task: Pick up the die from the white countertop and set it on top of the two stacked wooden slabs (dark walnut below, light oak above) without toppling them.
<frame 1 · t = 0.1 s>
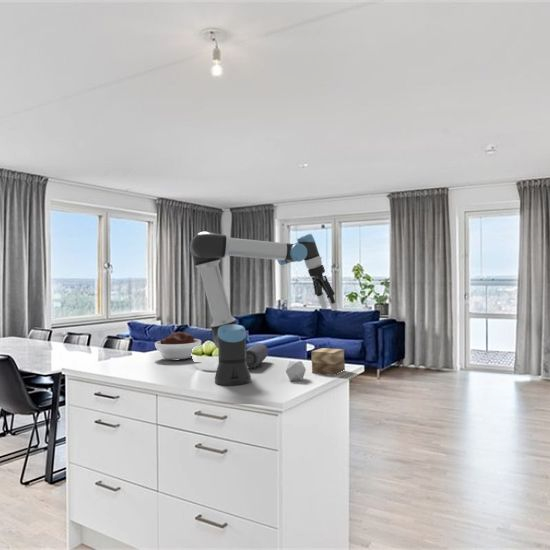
hand: (329, 309, 229), 28 cm above the countertop, tool tilted 20°, fingers open, 13 cm apart
oak slab: (327, 361, 221), point 5 cm above the countertop, touching walnut slab
white filled bowl: (178, 359, 266), on the countertop
walnut slab: (328, 372, 221), on the countertop, touching oak slab
bluetooth speaker: (255, 366, 240), on the countertop
die: (296, 380, 206), on the countertop
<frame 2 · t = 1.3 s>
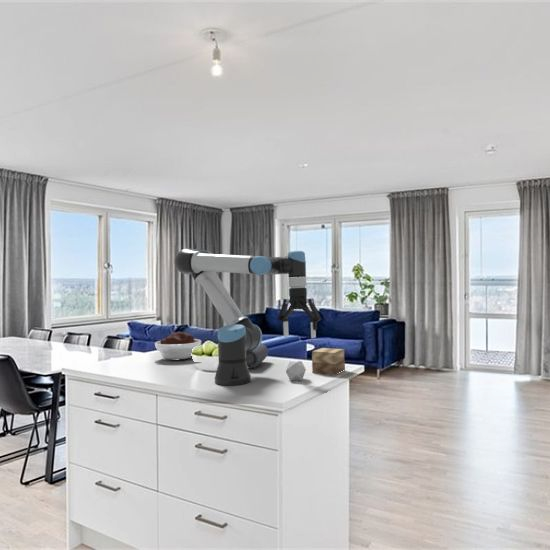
hand: (299, 337, 208), 18 cm above the countertop, tool pointing down, fingers open, 13 cm apart
nothing on the countertop moved.
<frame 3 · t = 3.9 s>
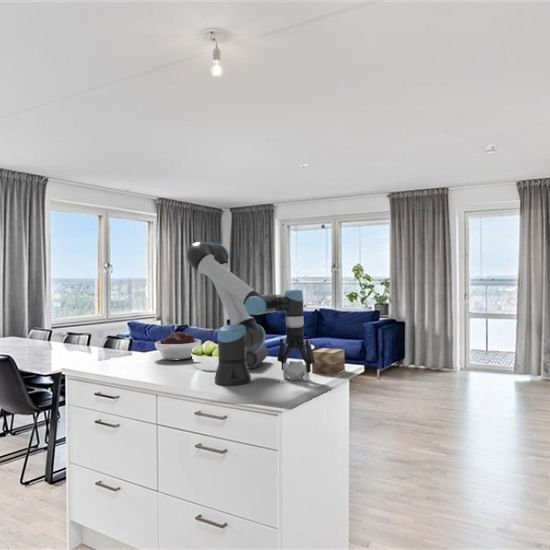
hand: (296, 379, 206), 0 cm above the countertop, tool pointing down, fingers closed on die, 9 cm apart
die: (296, 380, 206), on the countertop, touching gripper
everything else where it was.
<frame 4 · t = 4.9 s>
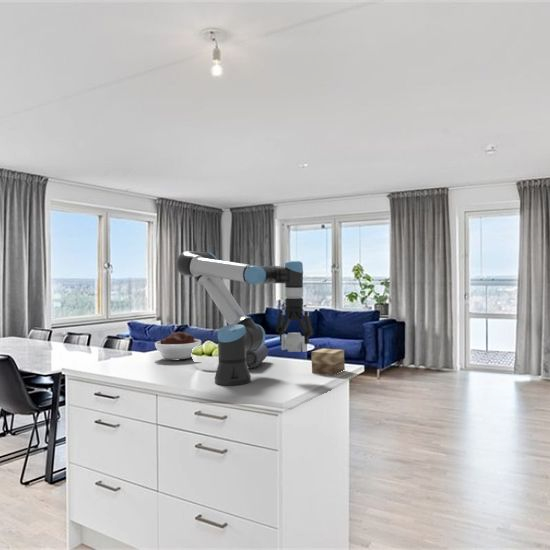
hand: (294, 350, 206), 12 cm above the countertop, tool pointing down, fingers closed on die, 9 cm apart
die: (294, 351, 206), point 12 cm above the countertop, touching gripper
everything else where it was.
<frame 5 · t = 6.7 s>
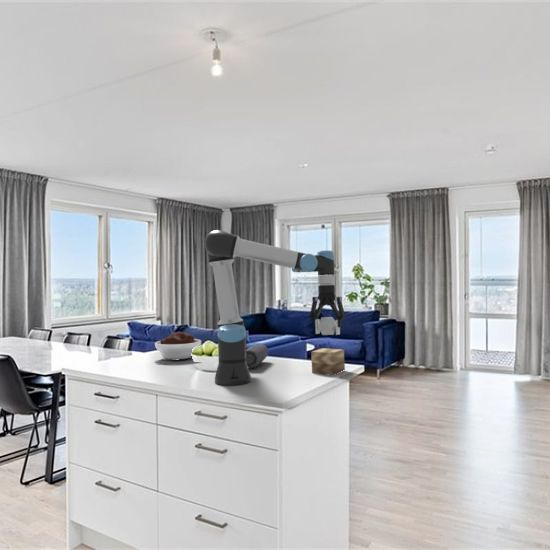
hand: (327, 334, 221), 17 cm above the countertop, tool pointing down, fingers closed on die, 9 cm apart
die: (327, 334, 221), point 17 cm above the countertop, touching gripper
everything else where it was.
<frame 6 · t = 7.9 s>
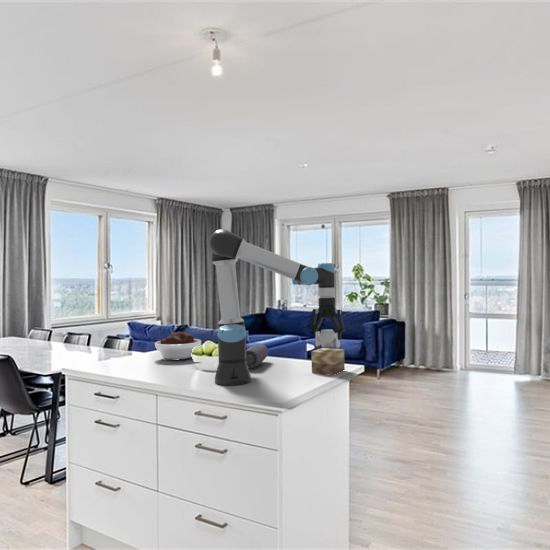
hand: (327, 346, 221), 11 cm above the countertop, tool pointing down, fingers closed on die, 9 cm apart
die: (327, 347, 221), point 11 cm above the countertop, touching gripper
everything else where it was.
when the fingers open (12 cm above the countertop, at t = 8.1 s): die drops 2 cm, point 10 cm above the countertop.
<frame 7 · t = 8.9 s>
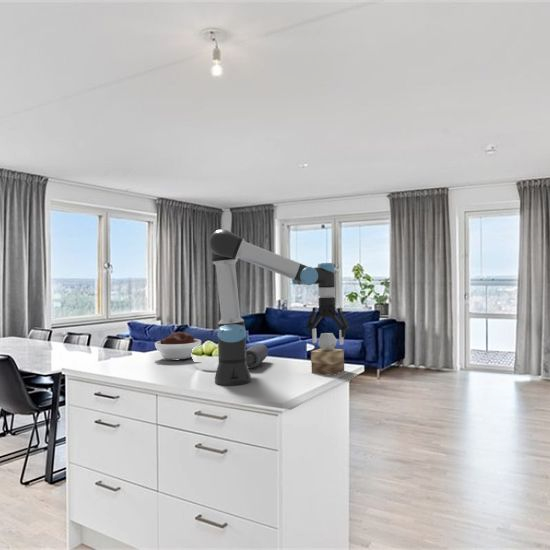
hand: (327, 343, 221), 13 cm above the countertop, tool pointing down, fingers open, 13 cm apart
die: (327, 350, 221), point 10 cm above the countertop
everything else where it was.
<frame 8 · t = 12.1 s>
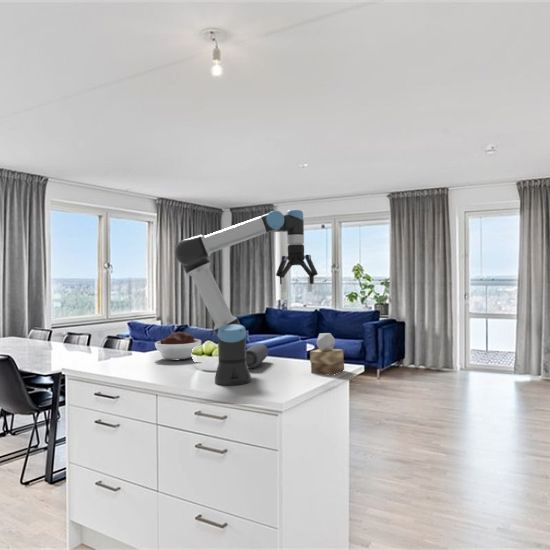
hand: (296, 291, 220), 37 cm above the countertop, tool pointing down, fingers open, 13 cm apart
oak slab: (327, 361, 221), point 5 cm above the countertop, touching die, walnut slab
die: (325, 350, 221), point 9 cm above the countertop, touching oak slab
everything else where it was.
at the end: die 0.5 cm from the oak slab (horizontally); die point 9.5 cm above the countertop; oak slab tilted 0° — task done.
